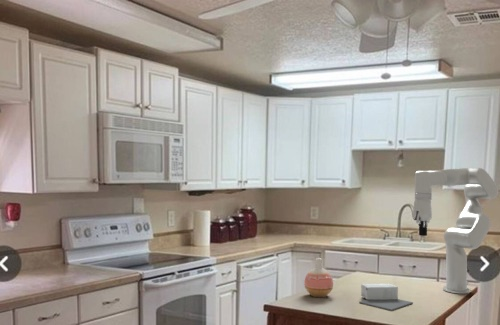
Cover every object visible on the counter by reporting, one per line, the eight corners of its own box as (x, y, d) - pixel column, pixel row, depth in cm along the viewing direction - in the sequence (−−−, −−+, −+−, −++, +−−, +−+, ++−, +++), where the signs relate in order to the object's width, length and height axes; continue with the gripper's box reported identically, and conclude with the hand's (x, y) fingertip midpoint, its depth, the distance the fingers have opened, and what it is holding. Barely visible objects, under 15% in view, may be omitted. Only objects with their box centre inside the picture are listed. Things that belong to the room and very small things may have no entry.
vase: (315, 291, 231) (315, 255, 232) (338, 296, 222) (339, 258, 222) (298, 295, 221) (298, 258, 222) (322, 301, 212) (322, 262, 212)
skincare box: (391, 295, 222) (360, 296, 221) (391, 282, 223) (360, 283, 221) (398, 299, 214) (366, 300, 213) (398, 286, 214) (366, 287, 213)
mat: (381, 296, 222) (381, 295, 222) (412, 303, 210) (412, 302, 210) (359, 303, 210) (359, 301, 210) (391, 310, 198) (391, 309, 198)
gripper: (423, 196, 232) (423, 233, 231) (407, 196, 222) (407, 235, 221) (437, 196, 226) (437, 235, 226) (422, 197, 216) (422, 237, 215)
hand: (423, 235), depth 223 cm, fingers closed
